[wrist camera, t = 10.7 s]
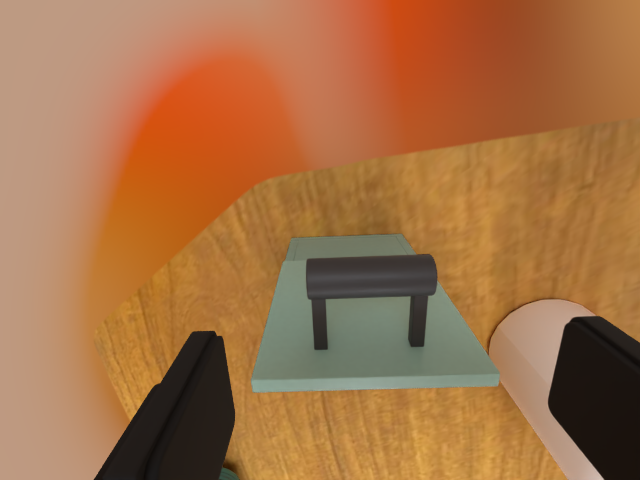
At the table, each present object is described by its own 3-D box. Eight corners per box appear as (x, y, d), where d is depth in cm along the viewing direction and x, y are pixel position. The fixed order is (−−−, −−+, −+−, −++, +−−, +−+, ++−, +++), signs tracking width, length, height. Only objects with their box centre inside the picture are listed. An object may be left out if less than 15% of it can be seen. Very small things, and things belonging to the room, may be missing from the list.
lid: (498, 386, 16) (519, 275, 14) (252, 393, 16) (236, 286, 14) (420, 264, 28) (425, 197, 26) (283, 269, 28) (277, 203, 26)
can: (616, 341, 39) (893, 547, 20) (526, 402, 42) (692, 630, 23) (554, 274, 36) (808, 438, 17) (463, 344, 39) (593, 549, 20)
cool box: (397, 336, 39) (412, 377, 33) (298, 338, 39) (294, 380, 33) (401, 233, 35) (419, 258, 28) (291, 237, 35) (283, 263, 29)
